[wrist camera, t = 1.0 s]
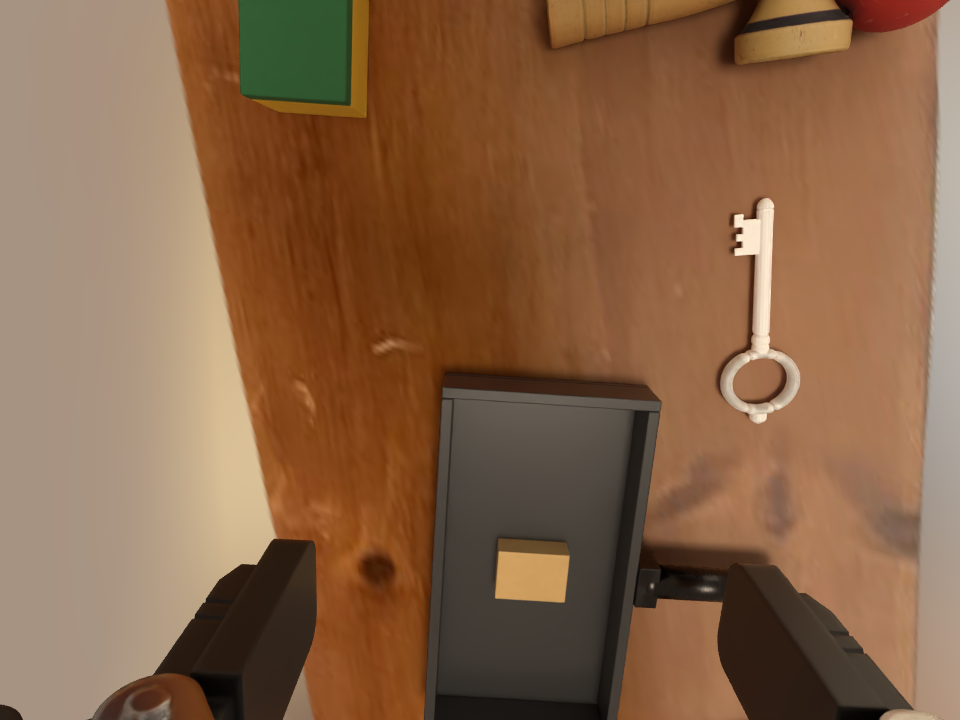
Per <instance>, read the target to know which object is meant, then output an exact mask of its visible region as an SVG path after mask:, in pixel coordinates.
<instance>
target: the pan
mask: <svg viewBox="0 0 960 720" xmlns="http://www.w3.org/2000/svg"><path fill="white" fill-rule="evenodd" d="M661 403H662V402H661V400H660V399H659V398H658V397H657V396H656V395H655V394H654V393H653V392H652V391H651V390H650V389H649V387H648V386H647V385H633V384H617V383H602V382H587V381H571V380H556V379H541V378H525V377H510V376H495V375H479V374H464V373H449V372H446V373H445V377H444V381H443V386H442V399H441V416H440V434H439V452H438V471H437V489H436V508H435V526H434V545H433V563H432V581H431V600H430V618H429V637H428V655H427V673H426V692H425V710H424V720H617V715H618V708H619V701H620V694H621V687H622V680H623V673H624V666H625V659H626V652H627V644H628V637H629V630H630V623H631V616H632V609H633V602H634V595H635V588H636V581H637V573H638V566H639V559H640V552H641V545H642V538H643V531H644V524H645V517H646V510H647V502H648V495H649V488H650V481H651V474H652V467H653V460H654V453H655V446H656V439H657V431H658V424H659V417H660V410H661ZM498 538H504V539H520V540H536V541H553V542H566V543H567V547H568V551H569V555H570V559H569V568H568V577H567V586H566V595H565V602H564V603H563V602H546V601H530V600H513V599H497V598H495V589H494V581H495V569H496V556H497V544H498Z"/></svg>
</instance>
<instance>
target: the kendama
mask: <svg viewBox="0 0 960 720" xmlns="http://www.w3.org/2000/svg"><path fill="white" fill-rule="evenodd" d="M733 1H736V0H546V6H547V16H548V26H549V36H550V45H551V47H552V49H556V48H560V47H563V46H567V45H570V44H574V43H578V42H581V41H583V40H584V39H587V40H588V39H593V38H597V37H601V36H604V35H608V34H613V33H617V32H622V31H623V30H624V29H625V30H630V29H635V28H639V27H643V26H644V25H645V24H646V25H652V24H656V23H661V22H665V21H669V20H673V19H677V18H681V17H685V16H689V15H692V14H696V13H699V12H702V11H706V10H708V9H712V8H714V7H718V6H721V5H724V4H727V3H730V2H733ZM948 1H949V0H759V2H758V5H757V7H756V9H755V11H754V13H753V15H752V17H751V18H750V20H749V21H748V23H747V24H746V25H745V27H744V28H743V29H742V31H741V32H740V33H739V34H738V35H737V36H736V38H735V40H734V42H735V63H736V64H738V65H741V64H748V63H755V62H764V61H773V60H780V59H789V58H796V57H803V56H812V55H818V54H825V53H833V52H839V51H845V50H847V49H848V48H849V47H850V43H851V34H852V28H854V29H857V30H861V31H866V32H887V31H893V30H898V29H901V28H905V27H907V26H910V25H912V24H915V23H917V22H919V21H921V20H923V19H925V18H927V17H928V16H930V15H931V14H933V13H934V12H936V11H937V10H938V9H940V8H941V7H943V5H945V4H946V3H947V2H948Z"/></svg>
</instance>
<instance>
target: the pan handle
mask: <svg viewBox="0 0 960 720" xmlns="http://www.w3.org/2000/svg"><path fill="white" fill-rule="evenodd" d="M728 571H729V569H725V568H708V567H692V566H676V565H660V564H658V562H657V560H656V558H655V556H654V554H653V552H652V551H645V550H641V552H640V559H639V566H638V573H637V581H636V588H635V595H634V602H633V604H634V606H635V607H643V608H656V602H657V598H658V599H674V600H691V601H707V602H723V599H724V593H725V587H726V581H727V576H728ZM788 581H789V580H788Z"/></svg>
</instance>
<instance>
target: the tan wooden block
mask: <svg viewBox="0 0 960 720" xmlns="http://www.w3.org/2000/svg"><path fill="white" fill-rule="evenodd" d="M569 559H570V555H569V551H568V547H567V543H566V542H553V541H536V540H520V539H504V538H498V544H497V556H496V569H495V581H494V589H495V598H497V599H513V600H530V601H546V602H563V603H564V602H565V595H566V586H567V577H568V568H569Z"/></svg>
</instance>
